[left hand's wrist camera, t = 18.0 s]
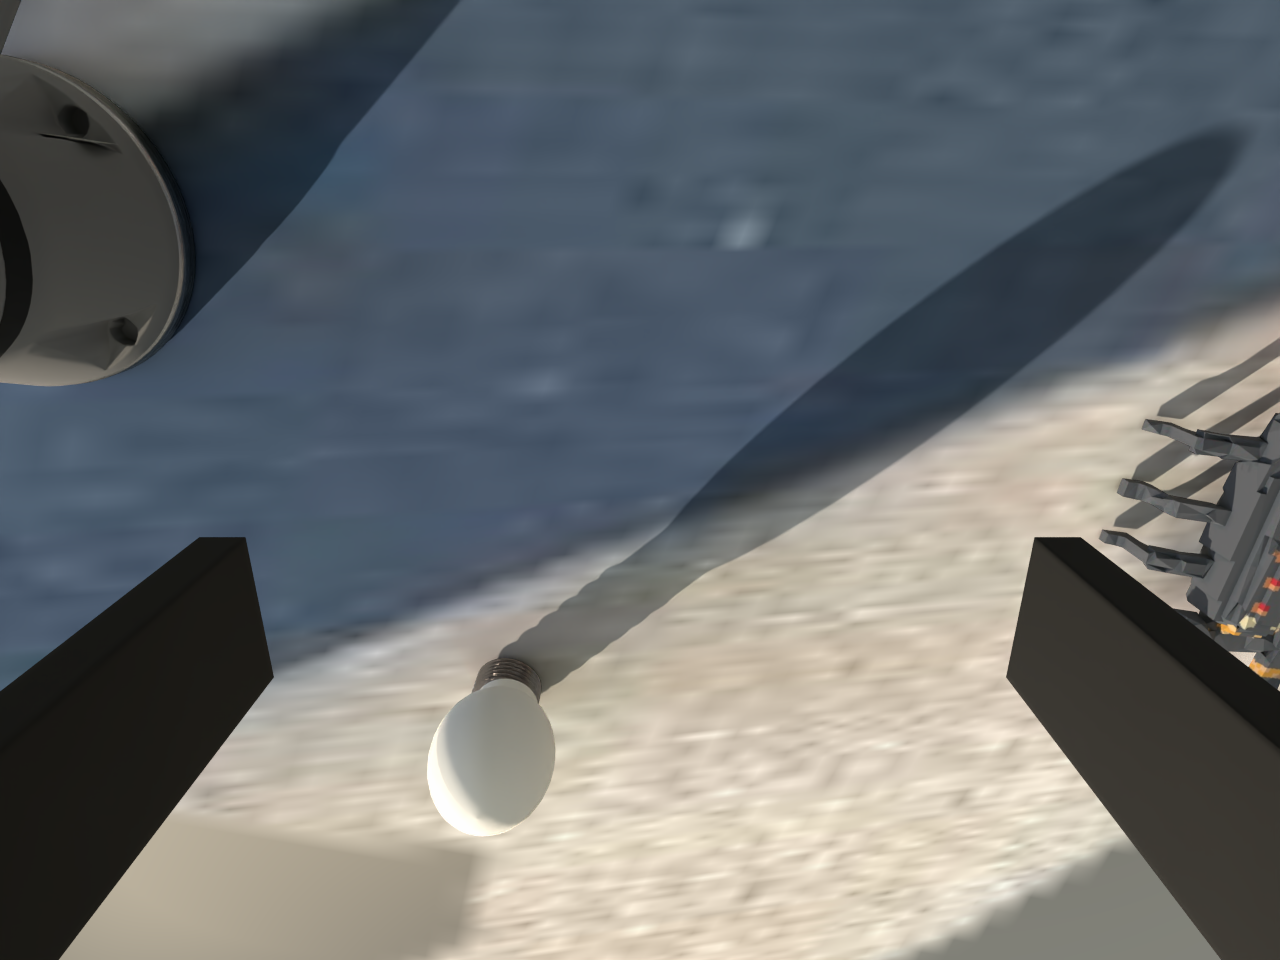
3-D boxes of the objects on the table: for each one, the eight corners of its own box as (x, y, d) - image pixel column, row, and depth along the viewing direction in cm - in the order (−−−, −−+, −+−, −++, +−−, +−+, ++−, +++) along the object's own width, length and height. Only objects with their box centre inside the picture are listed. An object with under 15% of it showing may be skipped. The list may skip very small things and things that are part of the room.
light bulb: (437, 691, 47) (381, 828, 37) (497, 617, 46) (455, 740, 35) (526, 744, 49) (496, 890, 39) (587, 674, 47) (572, 808, 37)
